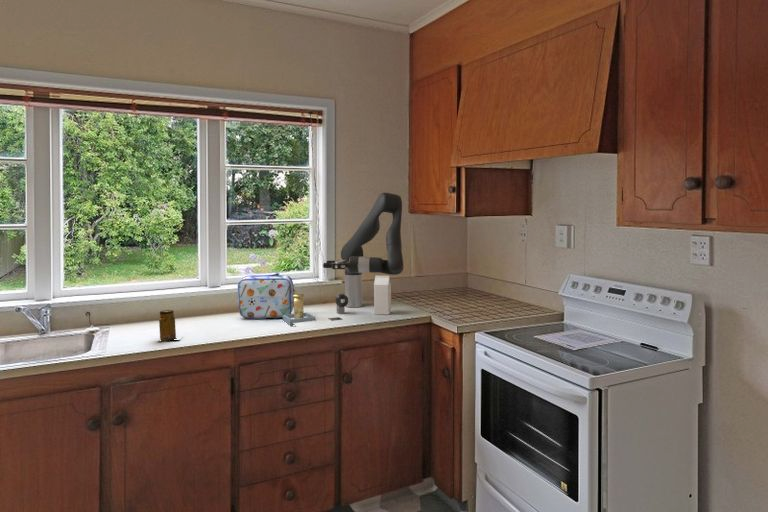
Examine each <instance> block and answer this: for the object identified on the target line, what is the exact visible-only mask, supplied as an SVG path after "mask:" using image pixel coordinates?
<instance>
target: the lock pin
mask: <svg viewBox="0 0 768 512" xmlns="http://www.w3.org/2000/svg"><path fill="white" fill-rule="evenodd" d="M304 297H305V294H304V293H294V294H293V314H294V318H293V319H297V318H305V316H304V313H305V310H304Z"/></svg>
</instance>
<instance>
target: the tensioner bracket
mask: <svg viewBox="0 0 768 512" xmlns="http://www.w3.org/2000/svg"><path fill="white" fill-rule="evenodd" d="M335 295H336V296H335V304H336V314H338V315H344V314H346V313H345V312H346V310H345V307H346V305H347V304H348V297H347V296H346V295H345V293H344V292H337V293H335ZM327 319H328V320H330V321H331V322H333V321H342V320H344V319H343V318H341V317H338V316H337V317H329V318H327Z"/></svg>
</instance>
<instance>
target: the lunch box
mask: <svg viewBox="0 0 768 512" xmlns="http://www.w3.org/2000/svg"><path fill="white" fill-rule="evenodd" d="M296 292H297V289H296V288H295V284H294V282H293V279H292V278H291V277H290V275H284V274H283V275H280V273H278V272H277V273H274V274H259V275H257V274H256V275H255V274H254V275H253V274H252V275H246V276H244V277H243V276H242V278H241V279H240V280H239V281H238V284H237V299H238V311H239V315H240V316H241V317H242V318H243V319H244V318H245V319H250V320H251V319H253V320H254V319H255V320H257V319H258V320H259V319H260V320H267V319H266V318H273V319H283V315H288V314H292V312H293V311H294V297H293V294H295V293H296Z"/></svg>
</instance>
